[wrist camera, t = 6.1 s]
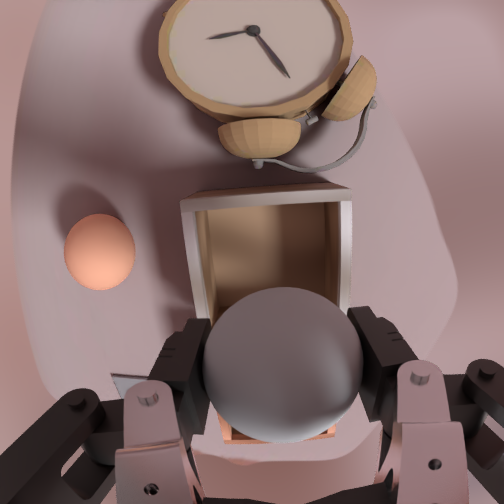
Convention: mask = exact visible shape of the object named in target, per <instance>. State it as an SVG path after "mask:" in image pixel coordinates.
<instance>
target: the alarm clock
mask: <svg viewBox="0 0 504 504" xmlns="http://www.w3.org/2000/svg"><path fill="white" fill-rule="evenodd" d="M163 17H165V19H164V21H163V24H162V26H161V28H160V31H159V48H158V56H159V59H160V61H161V64H162V66H163V69H164V71H165V74H166V77H167V79H168V80H169V81H170V82H171V83H172V84H173V85H174V86H175V87H176V88H177V89H178V90H179V91H180V92H181V93H182V94H183V95H184V97H185V98H186V99H188V100H190V101H191V102H192V103H193V104H194V105H195V107H196V108H197V109H198V110H200V111H202V112H204V113H206V114H208V115H210V116H211V117H213V118H215V119H217V120H219V121H221V122H224V123H228V124H225V125H222V126H220V127H219V128H218V134H219V138H220V141H221V143H222V145H223V147H224V148H225V149H226V150H227V151H229V152H230V153H231V154H234V155H236V156H239V157H242V158H247V159H252V161H253V166H254V168H255V169H261V168H262V167H263V162H270V163H276V164H278V165H280V166H283V167H285V168H287V169H290V170H292V171H296V172H301V173H316V172H321V171H326V170H330V169H332V168H335V167H337V166H340V165H341V164H343V163H344V162H345V161H347V160H348V159H350V158H351V157H352V156H353V155H354V154H355V153H356V152H357V150H358V149H359V148H360V146H361V144H362V142H363V140H364V138H365V134H366V130H367V120H368V115H369V110H370V108H372V109H375V108H376V106H377V103H376V101H374V100H373V99H374V98H375V96H373V93H374V91H375V87H376V80H377V78H376V72H375V69H374V67H373V66H372V64H371V63H370V62H369V61H368V60H367V59H366V58H365V57H364V56H361V57H360V58H359V59H358V61H357V62H356V64H355V65H354V66H353V68H352V69H351V71H350V72H349V74H348V75H347V77H346V78H345V80H344V81H343V82H342V81H341V80H339V78H340V77H341V75H342V74H343V72H344V71H345V70H346V68H347V67H348V65H349V60H350V55H351V50H352V45H353V37H352V33H351V28H350V23H349V19H348V16H347V15H346V14H345V12H344V10H343V9H342V7H341V6H340V4H339V3H338V1H337V0H177V1H176V2H175V3H174V4H173V5H172V6H171V8H170V9H169V10H168V12H164V13H163ZM336 84H337V85H339V86H340V89H339V90H338V92H337V93H336V95H335V96H334V98H333V99H332V101H331V102H330V104H329V105H327V107H326V108H325V110H324V111H323V113H322V115H321V116H323V117H325V118H327V119H329V120H332V121H344V120H348V119H350V118H352V117H354V116H356V115H357V114H358V113H360V112H361V111H362V110H363V109H364V110H363V113H362V115H361V119H360V126H359V132H358V136H357V139H356V141H355V142H354V144H353V146H352V147H351V149H350V150H349V151H348V152H347V153H346V154H345V155H344V156H342V157H341V158H340V159H338V160H337V161H335V162H333V163H331V164H328V165H326V166H322V167H317V168H301V167H296V166H292V165H289V164H287V163H285V162H282V161H279V160H276V159H269V158H274V157H277V156H280V155H282V154H285V153H286V152H288V151H290V150H291V149H292V148H293V147H294V146H295V145H296V144H297V142H298V140H299V138H300V133H301V124H300V123H299V122H297V121H293V120H295V119H298V118H301V117H304V116H305V115H306V114H307V115H308V117H309V119H307V120H306V124H307V125H311V124H313V123H315V122H316V121H318V117H317V116H313V117H311V116H310V115H309V112H310V111H312V110H313V109H314V108H316V107H317V106H318V105H320V104H321V103H322V102H324V101H325V99H326V98H327V96H328V95H329V93H330V92H331V91H332V89H333V88H334V86H335V85H336ZM372 96H373V97H372Z"/></svg>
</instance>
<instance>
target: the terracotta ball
mask: <svg viewBox="0 0 504 504" xmlns="http://www.w3.org/2000/svg"><path fill="white" fill-rule="evenodd" d="M64 258H65V263H66V266H67V268H68V270H69V272H70V274H71V275H72V277H73V278H74V279H75V280H76V281H77V282H78V283H80V284H81V285H83V286H85V287H87V288H90V289H93V290H106V289H110V288H113V287H115V286H117V285H118V284H120V283H121V282H122V281H123V280H124V279H125V278H126V277H127V276H128V275H129V273H130V271H131V269H132V267H133V265H134V261H135V244H134V240H133V237H132V235H131V233H130V231H129V229H128V228H127V227H126V226H125V225H124V224H123V223H122V222H121V221H120V220H119V219H117V218H115V217H113V216H110V215H106V214H93V215H89V216H87V217H85V218H83V219H81V220H80V221H78V222H77V223H76V224H75V225H74V226H73V227H72V229H71V230H70V232H69V233H68V236H67V238H66V241H65V246H64Z"/></svg>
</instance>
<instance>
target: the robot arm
mask: <svg viewBox="0 0 504 504" xmlns="http://www.w3.org/2000/svg"><path fill="white" fill-rule="evenodd" d="M347 317H348V319H349V320H350V321H351V323H352V324H353V326H354V328H355V330H356V332H357V334H358V336H359V339H360V342H361V346H362V351H363V359H364V365H363V377H362V381H361V385H360V388H359V391H358V392H359V395H360V397H361V400H362V403H363V405H364V408H365V411H366V414H367V416H368V419H369V422H374V421H379V420H381V422H382V425H383V427H382V430H381V433H380V441H379V449H378V457H377V465H376V471H375V477H374V482H373V484H372V485H368V486H364V487H359V488H354V489H349V490H343V491H340V492H338V493H335V494H333V495H329V496H327V497H324V498H321V499H318V500H315V501H312V502H309V503H306V504H469V488H468V487H469V486H468V471H467V469H468V470H469V471H470V472H471V473H472V474H473V475H474V476H475V478H476V479H477V480H478V481H479V482H480V483H481V484H482V485H483V487H484V488H485V489H486V490H487V491H488V492H489V493H490V494H491V496H492V497H493V498H494V499H495V500H496V501H497V502H498V503H499V504H504V441H503V440H502V439H500V438H499V437H498V436H497V435H496V434H495V433H494V432H493V431H492V430H491V429H490V428H489V427H488V426H487V425H486V424H485V423H484V421H485V419H486V418H487V416H488V414H489V415H490V416H491V417H492V418H493V419H494V420H495V421H496V422H497V423H499V424H500V425H501V426H502V427H503V428H504V368H503V367H502V366H500V365H499V364H498V363H496V362H494V361H492V360H488V359H478V360H475V361H473V362H471V363H470V364H469V366H468V367H467V370H466V373H465V374H458V375H457V374H455V375H444V374H442V371H441V370H440V369H439V367H438V366H436V365H435V364H433V363H431V362H428V361H424V360H419V359H418V358H417V356H416V355H415V354H414V352H413V351H412V349H411V348H410V346H409V345H408V344H407V342H406V341H405V339H404V340H403V337H402V335H401V334H400V333H399V331H398V330H397V328H396V327H395V326H394V324H393V323H391V322H390V321H388V320H387V319H385V318H383V317H380V318H377V317H376V316H375V314H374V313H373V312H372V310H371V309H370V307H369V306H362V307H353V308H348V310H347ZM211 330H212V326H211V321H210V319H209V318H191V319H188V321H187V323H186V326H185V328H184V330H183V332H175V333H174V334H172V335H171V336H170V337H169V338H168V339H166V341H165V343H164V345H163V347H162V350H161V351H160V354H159V357H158V358H157V360H156V362H155V364H154V366H153V368H152V370H151V372H150V374H149V376H148V378H147V380H146V381H142V382H139V383H137V384H135V385H133V386H132V387H131V388H129V389H128V391H127V392H126V394H125V396H124V399H118V400H110V401H100V399H99V397H98V395H97V394H96V393H95V392H94V391H92V390H90V389H86V388H81V389H75V390H72V391H70V392H68V393H66V394H65V395H64V396H62V397H61V398H60V399H59V400H58V401H57V402H56V403H55V404H54V405H53V406H52V407H51V408H50V409H49V410H47V411H46V412H45V413H44V414H43V415H42V416H41V417H40V418H39V419H38V420H37V421H36V422H35V423H34V424H33V425H32V426H31V427H29V428H28V429H27V430H26V431H25V432H24V433H23V434H22V435H21V436H20V437H19V438H18V439H17V440H16V441H15V442H14V443H13V444H12V445H11V446H10V447H8V448H7V449H6V450H5V451H4V452H3V453H2V454H1V455H0V504H100V503H101V502H102V501H103V499H104V498H105V496H106V495H107V494H108V492H109V491H110V490H111V488H112V487H113V486H114V484H115V483H116V497H117V504H274V503H268V502H261V501H256V500H251V499H226V498H207V497H206V495H205V492H204V489H203V485H202V482H201V479H200V475H199V472H198V468H197V464H196V461H195V458H194V453H193V449H192V447H191V441H192V436H193V434H200V435H204V430H205V425H206V419H207V414H208V409H209V404H210V399H209V397H208V394H207V391H206V388H205V385H204V380H203V372H202V360H203V353H204V349H205V345H206V342H207V339H208V337H209V334H210V332H211ZM80 446H81V447H82V448H83V450H84V452H83V453H82V454H81V456H80V457H79V458H78V459H77V460H76V461H75V463H74V464H73V465H72V466H71V467H70V468H69V469H68V471H67V472H66V473H65V474H64V475H63V476H62V477H61V469H62V467H63V465H64V464H65V463H66V462H67V461H68V459H69V458H70V457H71V456H72V455H73V454H74V453H75V452H76V450H77V449H78V448H79V447H80Z"/></svg>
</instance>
